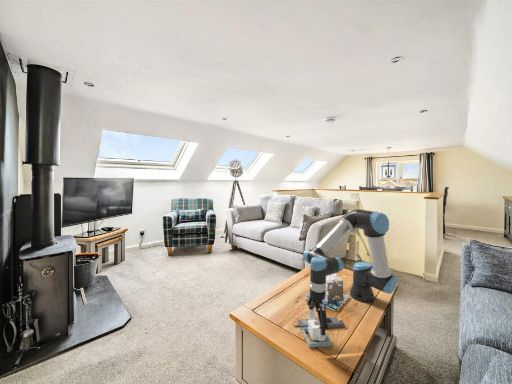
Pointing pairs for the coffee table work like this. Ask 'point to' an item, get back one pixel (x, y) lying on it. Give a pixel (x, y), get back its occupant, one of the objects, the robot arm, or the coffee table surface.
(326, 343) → the teal square frame
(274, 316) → the coffee table surface
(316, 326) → the charger
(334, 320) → the power strip
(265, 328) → the coffee table surface
